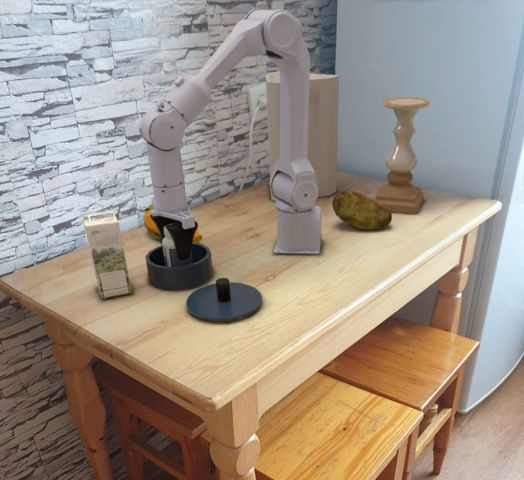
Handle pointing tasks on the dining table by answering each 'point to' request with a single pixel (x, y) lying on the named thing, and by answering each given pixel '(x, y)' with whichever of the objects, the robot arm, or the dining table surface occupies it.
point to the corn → (153, 228)
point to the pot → (180, 269)
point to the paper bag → (310, 127)
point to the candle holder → (402, 159)
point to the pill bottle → (172, 252)
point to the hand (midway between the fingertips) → (178, 253)
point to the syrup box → (107, 254)
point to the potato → (361, 210)
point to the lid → (224, 301)
